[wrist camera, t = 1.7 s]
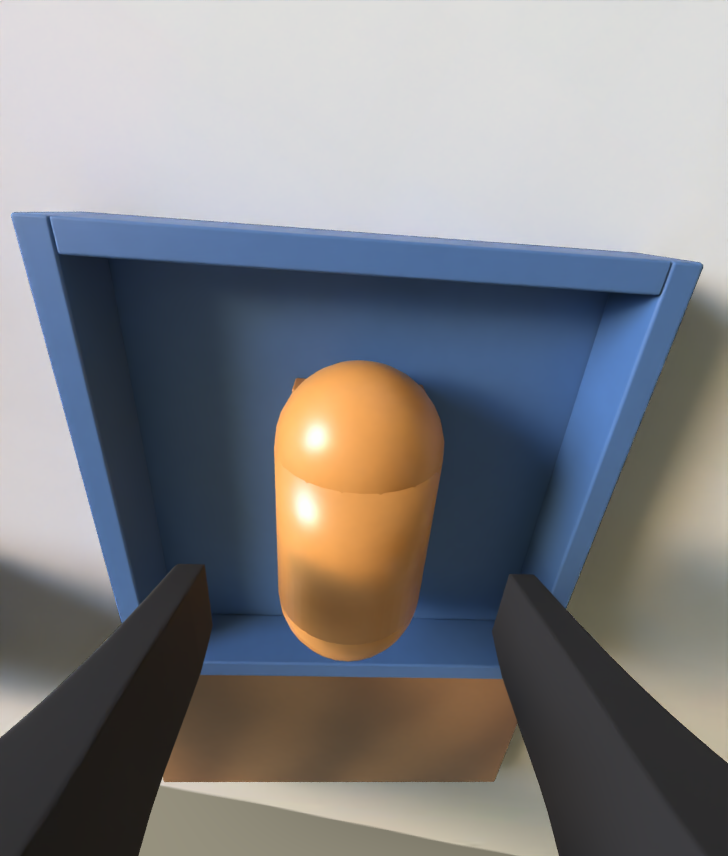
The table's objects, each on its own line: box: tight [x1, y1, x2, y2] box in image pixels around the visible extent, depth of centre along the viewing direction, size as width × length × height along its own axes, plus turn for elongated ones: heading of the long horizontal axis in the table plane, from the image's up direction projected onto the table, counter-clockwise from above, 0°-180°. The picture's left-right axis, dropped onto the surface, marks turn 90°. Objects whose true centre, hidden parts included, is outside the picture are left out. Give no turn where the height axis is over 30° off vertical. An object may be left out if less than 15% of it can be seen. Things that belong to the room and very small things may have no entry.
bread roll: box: [274, 360, 444, 661], centre depth 13 cm, size 5×10×5 cm, turn 176°
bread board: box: [163, 675, 518, 782], centre depth 22 cm, size 18×10×1 cm, turn 86°
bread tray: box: [11, 212, 703, 679], centre depth 14 cm, size 16×16×3 cm
